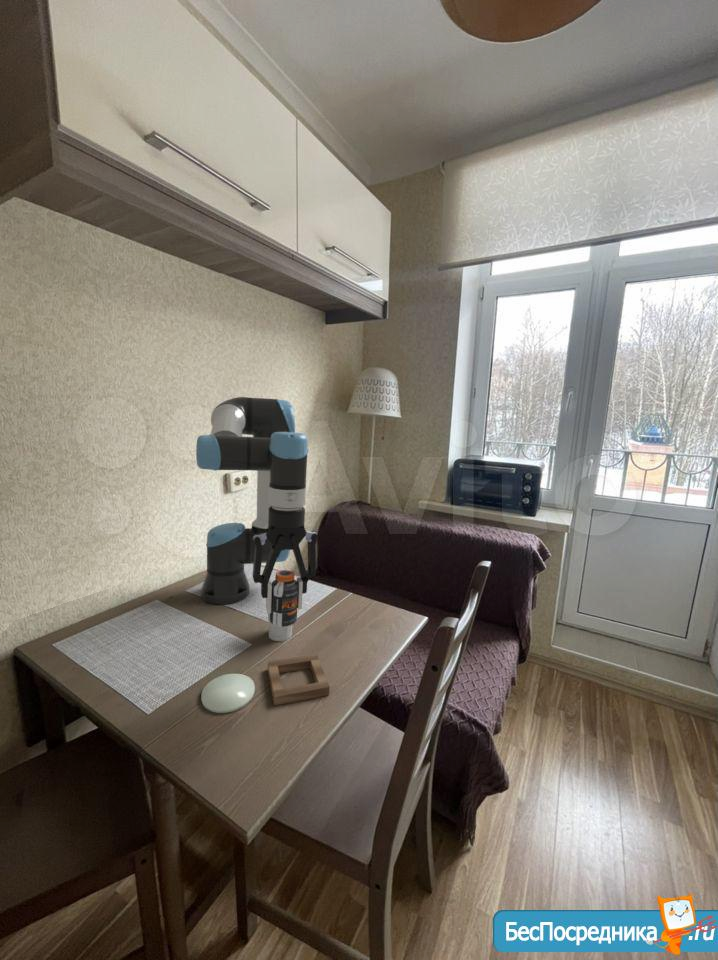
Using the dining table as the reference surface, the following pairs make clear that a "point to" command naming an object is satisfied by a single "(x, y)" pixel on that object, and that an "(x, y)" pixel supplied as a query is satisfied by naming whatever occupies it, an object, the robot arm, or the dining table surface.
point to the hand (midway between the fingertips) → (283, 608)
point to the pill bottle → (284, 599)
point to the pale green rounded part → (228, 693)
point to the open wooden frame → (297, 692)
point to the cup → (279, 631)
